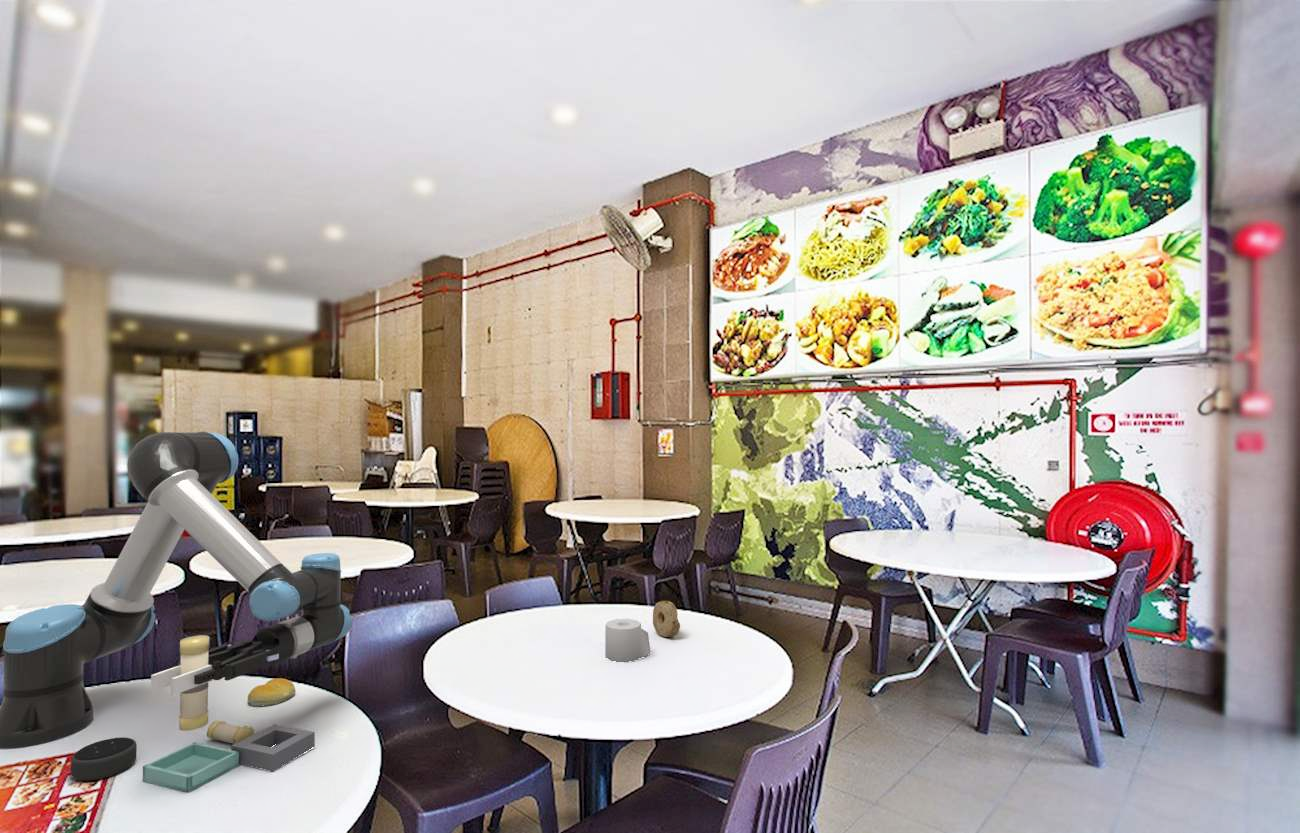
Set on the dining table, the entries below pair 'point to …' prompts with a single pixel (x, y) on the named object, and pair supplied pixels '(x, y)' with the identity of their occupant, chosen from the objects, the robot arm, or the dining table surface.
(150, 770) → the parts tray
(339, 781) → the dining table surface
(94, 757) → the smart speaker
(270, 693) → the bread roll
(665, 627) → the stone disc
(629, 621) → the toilet tissue
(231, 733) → the fuse
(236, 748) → the socket block
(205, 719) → the fuse
